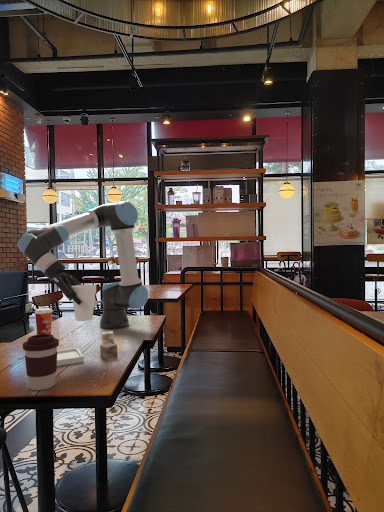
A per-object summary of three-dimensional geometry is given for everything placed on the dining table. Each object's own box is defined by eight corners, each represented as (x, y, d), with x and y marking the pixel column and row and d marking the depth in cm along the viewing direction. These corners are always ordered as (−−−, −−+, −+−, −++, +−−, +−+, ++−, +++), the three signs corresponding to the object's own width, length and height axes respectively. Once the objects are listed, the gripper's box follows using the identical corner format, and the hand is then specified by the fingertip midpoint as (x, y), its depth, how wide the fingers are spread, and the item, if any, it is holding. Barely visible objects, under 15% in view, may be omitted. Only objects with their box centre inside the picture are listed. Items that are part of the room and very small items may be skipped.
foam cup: (73, 322, 132) (73, 287, 132) (69, 318, 140) (69, 285, 140) (99, 320, 136) (98, 286, 136) (93, 316, 144) (93, 284, 144)
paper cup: (46, 342, 157) (46, 310, 157) (31, 341, 159) (30, 310, 159) (56, 338, 165) (56, 308, 165) (42, 337, 166) (41, 307, 166)
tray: (77, 352, 140) (77, 347, 140) (83, 361, 129) (83, 356, 129) (41, 358, 134) (41, 352, 134) (45, 367, 123) (45, 362, 123)
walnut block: (110, 354, 138) (110, 343, 137) (117, 356, 134) (117, 345, 134) (100, 357, 134) (100, 345, 134) (107, 359, 131) (107, 347, 131)
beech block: (112, 341, 158) (112, 331, 158) (113, 343, 154) (113, 333, 154) (102, 342, 157) (102, 331, 157) (102, 344, 152) (102, 334, 152)
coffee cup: (54, 392, 101) (52, 339, 101) (18, 393, 101) (16, 341, 100) (63, 379, 111) (62, 331, 111) (31, 380, 110) (30, 333, 110)
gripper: (56, 272, 149) (94, 309, 149) (30, 275, 127) (74, 319, 127) (68, 259, 149) (106, 296, 149) (45, 260, 127) (89, 304, 127)
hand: (91, 307), depth 138 cm, fingers closed on foam cup, 9 cm apart
